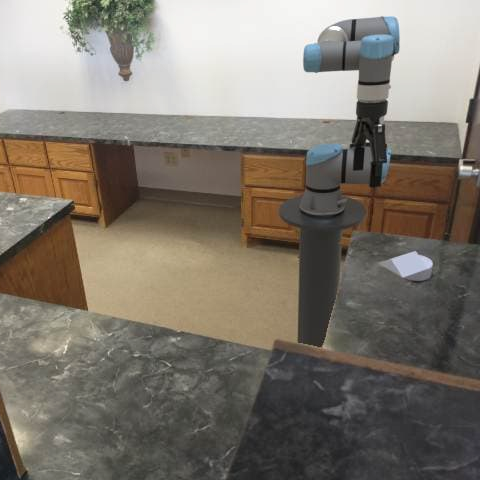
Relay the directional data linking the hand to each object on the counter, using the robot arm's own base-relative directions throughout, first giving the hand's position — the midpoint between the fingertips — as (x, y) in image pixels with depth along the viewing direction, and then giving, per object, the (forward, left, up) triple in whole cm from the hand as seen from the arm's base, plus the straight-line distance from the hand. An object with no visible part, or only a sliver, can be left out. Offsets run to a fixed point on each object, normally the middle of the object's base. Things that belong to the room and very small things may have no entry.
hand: (366, 178), depth 140 cm
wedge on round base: (+12, +9, -25) cm, 29 cm away
